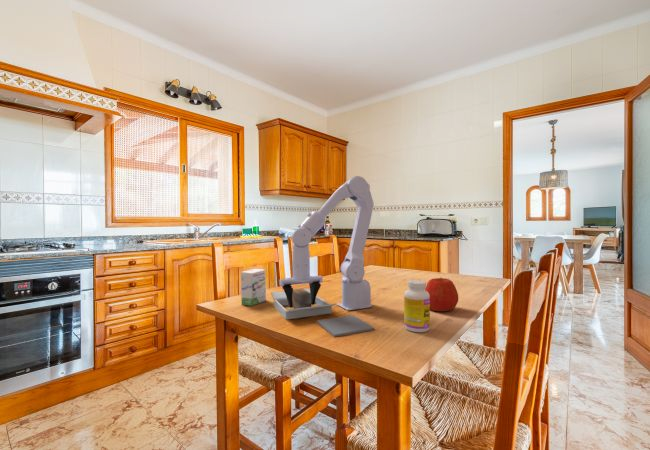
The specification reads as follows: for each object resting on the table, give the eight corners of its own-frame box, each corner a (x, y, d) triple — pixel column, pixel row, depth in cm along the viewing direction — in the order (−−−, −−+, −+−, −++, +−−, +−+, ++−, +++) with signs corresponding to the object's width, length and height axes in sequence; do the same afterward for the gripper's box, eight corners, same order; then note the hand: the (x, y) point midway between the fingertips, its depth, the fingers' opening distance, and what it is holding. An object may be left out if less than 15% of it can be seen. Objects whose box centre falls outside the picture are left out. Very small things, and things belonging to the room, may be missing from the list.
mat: (353, 317, 93) (353, 315, 93) (374, 329, 82) (374, 327, 82) (316, 322, 88) (316, 320, 88) (334, 337, 77) (334, 334, 77)
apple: (453, 316, 92) (453, 281, 92) (418, 310, 99) (418, 278, 99) (462, 308, 101) (461, 276, 101) (429, 303, 107) (429, 273, 107)
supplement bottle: (426, 335, 78) (426, 285, 78) (401, 330, 81) (400, 282, 81) (432, 327, 84) (432, 280, 83) (408, 323, 87) (408, 278, 87)
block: (303, 306, 106) (303, 288, 106) (311, 312, 98) (311, 293, 98) (292, 307, 104) (292, 290, 104) (299, 313, 97) (299, 295, 97)
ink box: (251, 306, 106) (251, 272, 106) (240, 304, 108) (240, 271, 108) (266, 300, 114) (266, 269, 113) (256, 299, 116) (255, 268, 116)
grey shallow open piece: (311, 299, 115) (311, 288, 115) (336, 316, 94) (336, 303, 94) (271, 303, 109) (271, 292, 109) (289, 323, 88) (289, 309, 88)
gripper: (283, 268, 94) (283, 311, 95) (325, 264, 100) (326, 305, 100) (277, 265, 101) (278, 305, 101) (318, 262, 107) (318, 300, 107)
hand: (301, 305), depth 101 cm, fingers open, 7 cm apart
